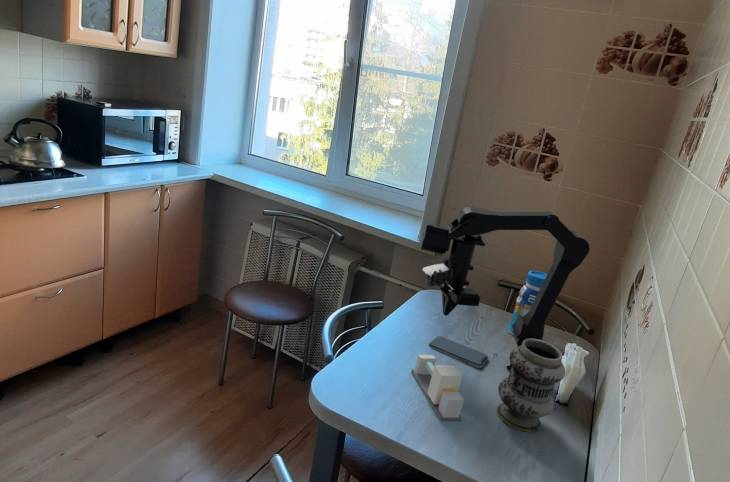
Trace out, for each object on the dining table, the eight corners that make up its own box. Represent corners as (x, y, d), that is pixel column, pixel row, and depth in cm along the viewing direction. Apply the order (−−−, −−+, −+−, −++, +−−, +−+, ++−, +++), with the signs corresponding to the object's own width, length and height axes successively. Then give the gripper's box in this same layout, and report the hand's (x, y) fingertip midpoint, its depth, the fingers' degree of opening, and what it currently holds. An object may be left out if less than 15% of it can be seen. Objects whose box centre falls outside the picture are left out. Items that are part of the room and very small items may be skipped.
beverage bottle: (515, 325, 165) (533, 267, 159) (539, 337, 160) (559, 278, 154) (502, 331, 159) (520, 271, 153) (526, 344, 154) (546, 282, 148)
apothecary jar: (523, 441, 109) (549, 367, 103) (480, 407, 118) (502, 337, 112) (556, 427, 116) (582, 357, 111) (514, 396, 125) (535, 330, 120)
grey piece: (429, 372, 128) (434, 353, 126) (460, 420, 112) (466, 399, 110) (411, 372, 126) (415, 353, 125) (439, 420, 110) (445, 399, 109)
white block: (447, 393, 118) (455, 365, 116) (454, 404, 115) (462, 376, 113) (427, 393, 117) (434, 365, 115) (433, 404, 113) (441, 375, 111)
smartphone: (438, 334, 147) (489, 354, 140) (437, 340, 147) (488, 360, 141) (427, 343, 141) (480, 365, 134) (426, 349, 141) (479, 371, 134)
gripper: (417, 241, 134) (404, 296, 139) (445, 270, 117) (429, 331, 122) (456, 246, 138) (442, 299, 142) (489, 274, 121) (471, 333, 125)
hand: (445, 314), depth 133 cm, fingers closed
